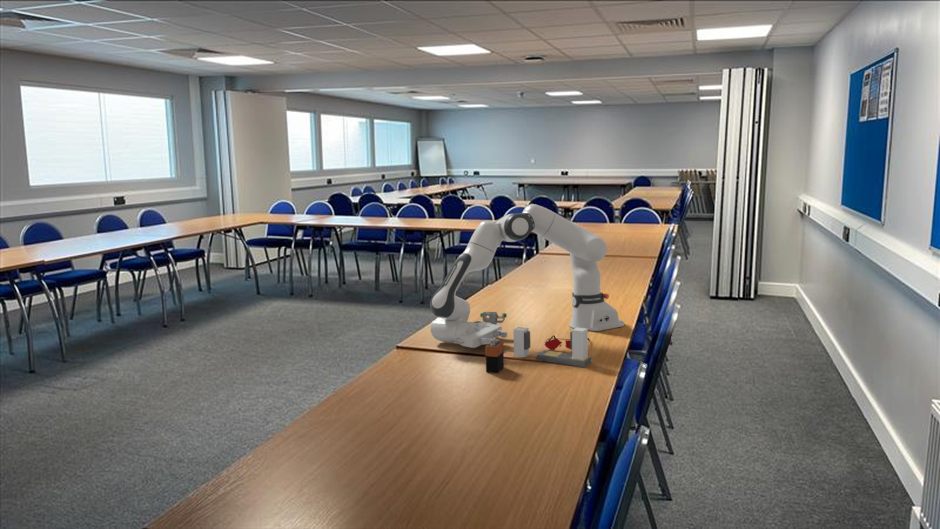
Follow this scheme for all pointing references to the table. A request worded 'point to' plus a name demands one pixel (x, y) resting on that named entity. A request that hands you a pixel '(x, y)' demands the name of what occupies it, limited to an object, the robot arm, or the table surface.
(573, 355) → the block
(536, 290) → the table surface
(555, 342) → the glasses
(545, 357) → the rail
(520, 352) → the block
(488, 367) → the battery
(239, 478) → the table surface
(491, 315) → the mechanical component
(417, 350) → the table surface
